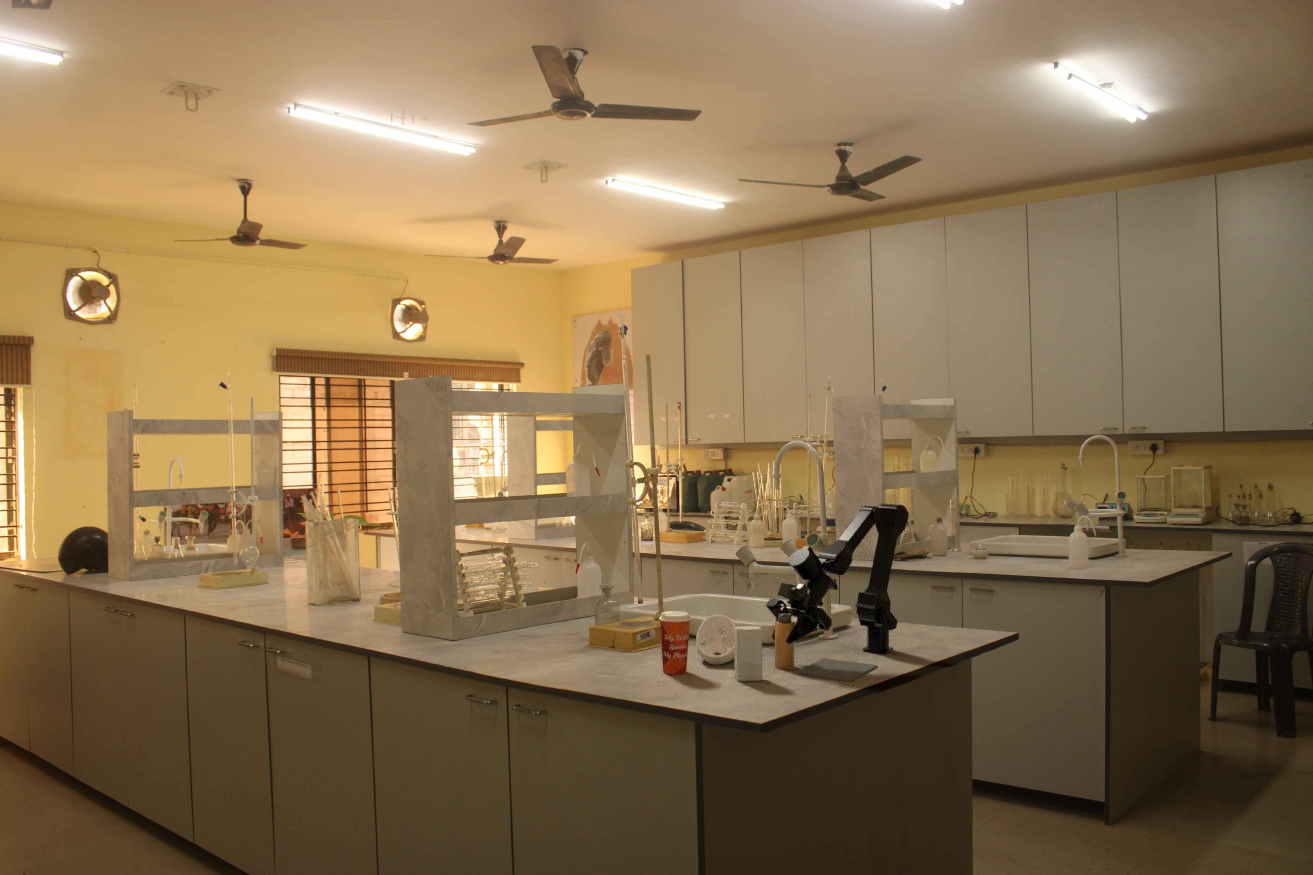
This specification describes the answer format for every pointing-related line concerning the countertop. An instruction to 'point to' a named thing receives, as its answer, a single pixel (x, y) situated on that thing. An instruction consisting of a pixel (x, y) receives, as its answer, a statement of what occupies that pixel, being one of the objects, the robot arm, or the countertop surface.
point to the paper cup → (674, 641)
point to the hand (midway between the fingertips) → (780, 640)
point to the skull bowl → (716, 639)
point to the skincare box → (748, 653)
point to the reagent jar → (784, 642)
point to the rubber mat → (836, 669)
